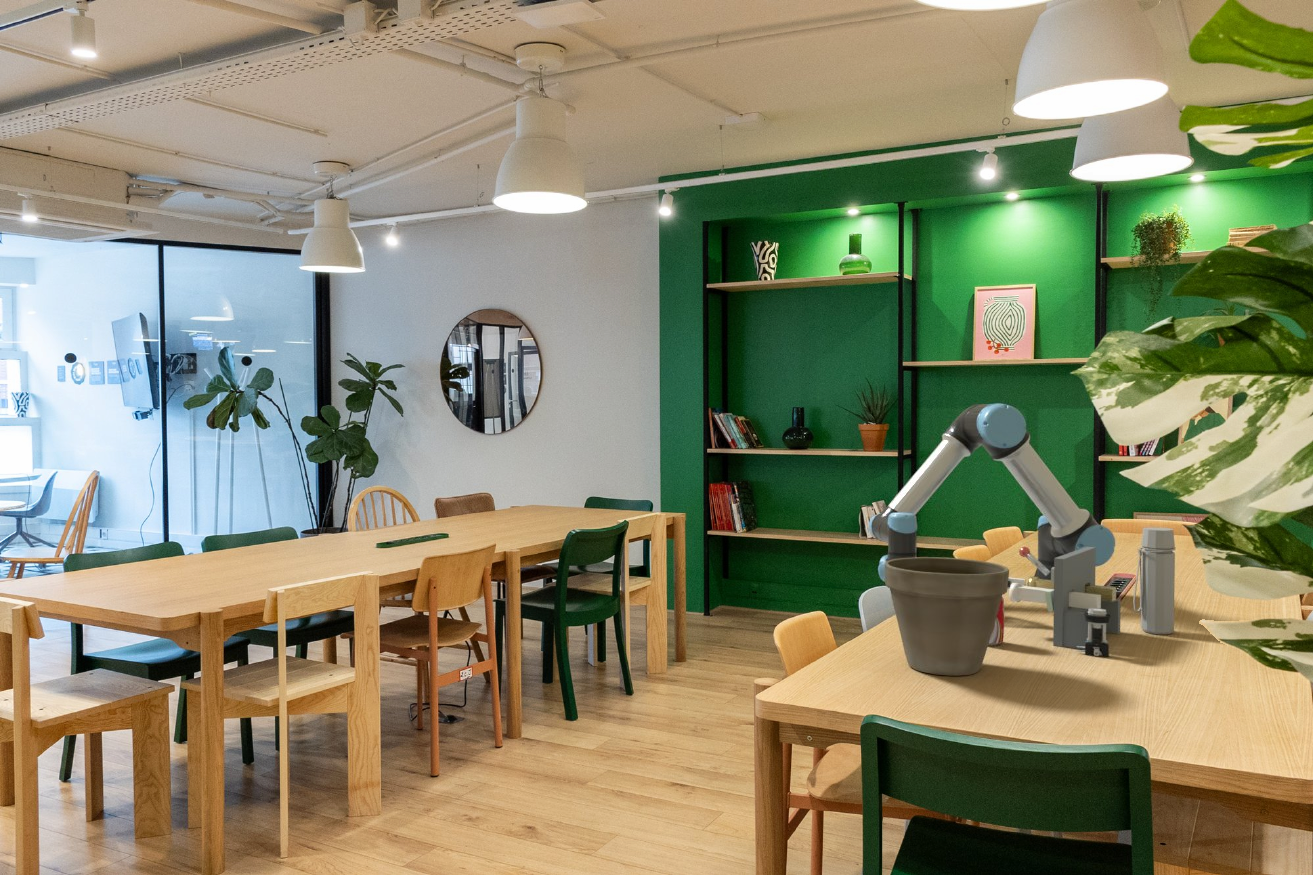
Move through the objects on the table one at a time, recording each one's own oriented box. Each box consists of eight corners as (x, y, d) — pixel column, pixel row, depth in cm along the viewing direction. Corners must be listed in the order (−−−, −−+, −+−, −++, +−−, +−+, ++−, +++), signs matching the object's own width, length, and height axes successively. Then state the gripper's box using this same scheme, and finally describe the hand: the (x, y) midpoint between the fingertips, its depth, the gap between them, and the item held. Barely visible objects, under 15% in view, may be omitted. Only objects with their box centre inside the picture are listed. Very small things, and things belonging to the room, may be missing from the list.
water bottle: (1166, 628, 240) (1167, 527, 239) (1180, 636, 232) (1181, 531, 231) (1127, 627, 241) (1128, 526, 240) (1139, 635, 233) (1141, 530, 232)
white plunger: (1015, 599, 237) (1016, 581, 236) (1101, 610, 224) (1101, 591, 224) (1009, 602, 233) (1009, 584, 233) (1095, 613, 221) (1096, 594, 220)
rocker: (1051, 609, 226) (1048, 590, 227) (1057, 609, 226) (1053, 590, 226) (1048, 611, 224) (1044, 592, 225) (1053, 611, 224) (1050, 591, 224)
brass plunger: (1033, 592, 246) (1033, 575, 246) (1116, 602, 233) (1117, 584, 233) (1027, 595, 242) (1027, 577, 242) (1111, 605, 230) (1111, 586, 230)
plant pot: (955, 648, 221) (956, 552, 220) (1034, 676, 198) (1035, 569, 197) (860, 658, 212) (861, 558, 211) (932, 689, 189) (932, 577, 188)
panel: (1082, 626, 242) (1083, 546, 241) (1120, 632, 236) (1121, 549, 236) (1049, 644, 224) (1050, 557, 223) (1090, 651, 218) (1091, 561, 217)
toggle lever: (1021, 572, 231) (1021, 545, 230) (1051, 575, 226) (1052, 548, 226) (1017, 573, 229) (1017, 546, 229) (1048, 576, 224) (1048, 549, 224)
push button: (1076, 655, 214) (1077, 610, 213) (1077, 650, 219) (1077, 605, 218) (1110, 659, 211) (1110, 613, 211) (1109, 653, 216) (1110, 608, 216)
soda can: (1006, 647, 221) (1006, 594, 221) (973, 645, 223) (973, 593, 222) (1001, 640, 228) (1002, 589, 228) (969, 638, 230) (970, 587, 229)
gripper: (946, 585, 265) (1034, 596, 249) (924, 592, 255) (1015, 604, 239) (946, 557, 264) (1034, 566, 249) (925, 563, 255) (1015, 573, 239)
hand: (1025, 585), depth 244 cm, fingers closed
